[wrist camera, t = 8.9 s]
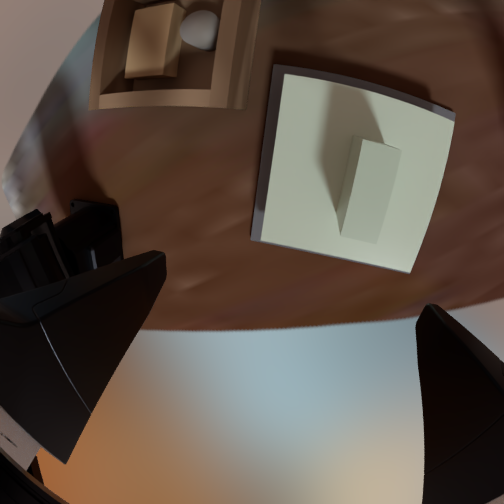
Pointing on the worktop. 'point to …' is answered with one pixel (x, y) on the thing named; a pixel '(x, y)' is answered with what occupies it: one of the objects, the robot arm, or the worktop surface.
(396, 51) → the worktop surface
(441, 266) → the worktop surface
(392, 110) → the lid
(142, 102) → the crate
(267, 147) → the mat
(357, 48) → the worktop surface
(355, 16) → the worktop surface
